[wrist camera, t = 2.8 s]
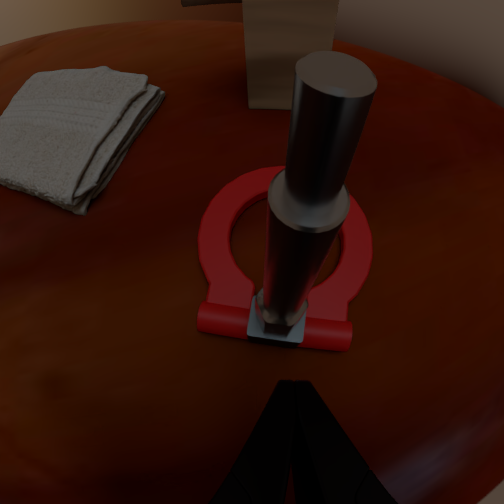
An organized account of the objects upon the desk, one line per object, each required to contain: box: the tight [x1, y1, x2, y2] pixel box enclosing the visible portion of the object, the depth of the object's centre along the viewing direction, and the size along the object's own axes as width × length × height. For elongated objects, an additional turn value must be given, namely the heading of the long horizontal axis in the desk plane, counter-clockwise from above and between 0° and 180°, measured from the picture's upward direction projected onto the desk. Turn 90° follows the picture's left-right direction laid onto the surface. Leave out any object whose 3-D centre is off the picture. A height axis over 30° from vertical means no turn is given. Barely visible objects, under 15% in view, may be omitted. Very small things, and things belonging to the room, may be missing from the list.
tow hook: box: [197, 51, 377, 352], centre depth 11 cm, size 9×14×10 cm
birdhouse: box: [181, 0, 339, 110], centre depth 16 cm, size 5×9×11 cm, turn 87°
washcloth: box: [0, 66, 165, 216], centre depth 20 cm, size 12×18×3 cm, turn 71°
